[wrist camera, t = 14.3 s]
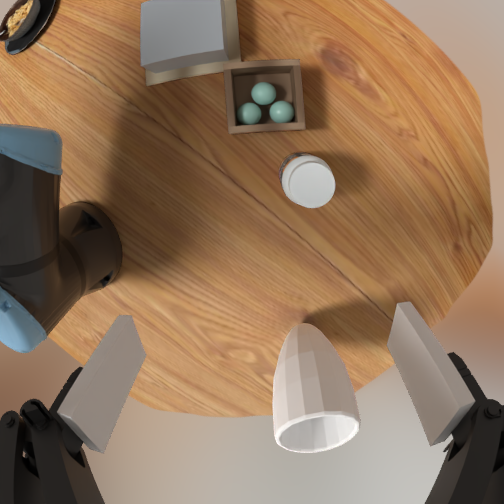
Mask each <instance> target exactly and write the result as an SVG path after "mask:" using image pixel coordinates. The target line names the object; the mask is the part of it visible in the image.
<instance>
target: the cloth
mask: <svg viewBox="0 0 504 504" xmlns="http://www.w3.org/2000/svg"><path fill="white" fill-rule="evenodd" d="M224 2H225V15H226V28H227V41H228V54H229V61H221V62H214V63H207V64H201V65H195V66H189V67H184V68H179V69H174V70H169V71H165V72H160V73H156V74H155V73H153V72H151V71H150V70H148V69H146V68H145V73H146V86H152V85H156V84H160V83H164V82H169V81H174V80H179V79H184V78H190V77H195V76H202V75H208V74H215V73H223V72H224V71H223V64H225V63H234V62H241V52H240V41H239V29H238V18H237V6H236V0H224Z"/></svg>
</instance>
